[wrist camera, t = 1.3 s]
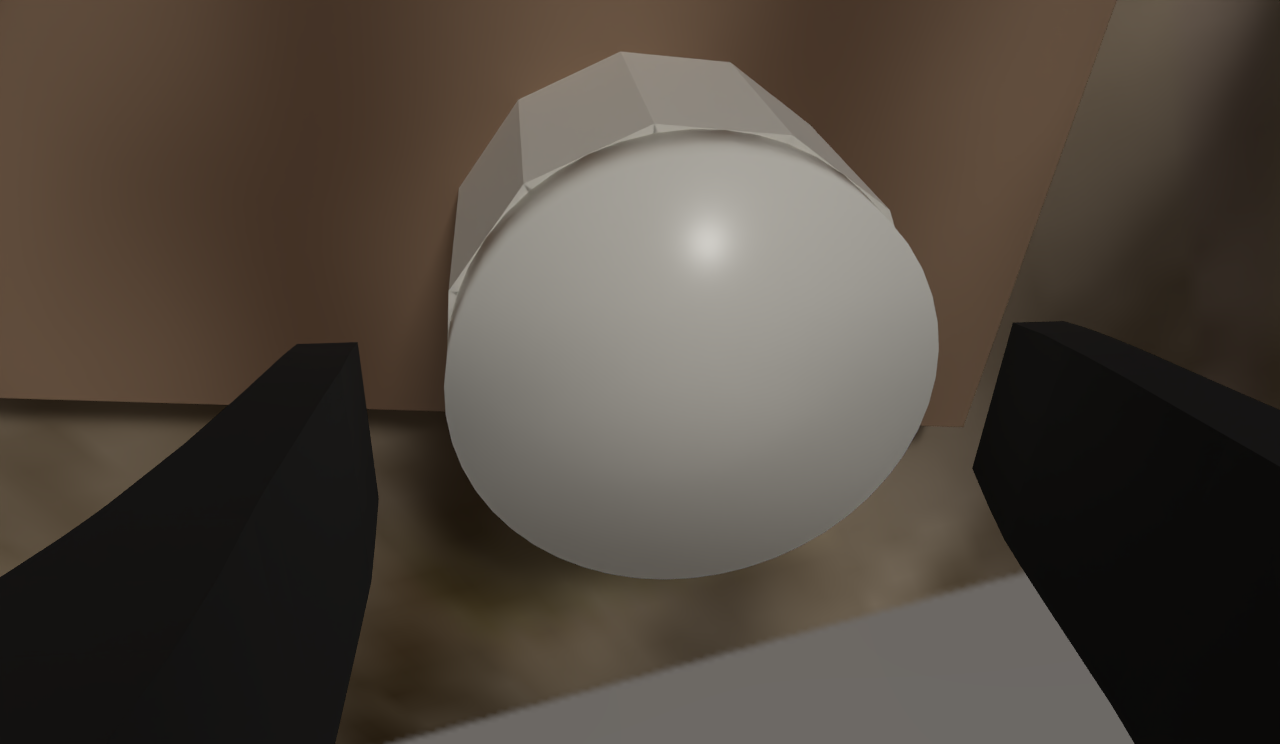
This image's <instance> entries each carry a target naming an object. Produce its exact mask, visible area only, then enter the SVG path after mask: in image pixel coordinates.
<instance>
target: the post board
mask: <svg viewBox="0 0 1280 744" xmlns="http://www.w3.org/2000/svg"><path fill="white" fill-rule="evenodd" d="M1116 1H1117V0H0V398H17V399H50V400H84V401H117V402H150V403H183V404H216V405H229V404H230V403H231V402H233V401H234V400H235V399H236V398H237V397H238V396H239V395H240V394H241V393H242V392H244V391H245V390H246V389H247V388H248V387H249V386H250V385H251V384H252V383H253V382H254V381H256V380H257V379H258V378H259V377H260V376H261V375H262V374H263V373H264V372H265V371H266V370H267V369H269V368H270V367H271V366H272V365H273V364H274V363H275V362H276V361H277V360H278V359H279V358H281V357H282V356H283V355H284V354H285V353H286V352H287V351H289V350H290V349H291V348H292V347H294V346H295V345H296V344H311V343H345V342H358V348H359V355H360V363H361V370H362V378H363V385H364V393H365V400H366V408H367V409H382V410H415V411H445V395H444V381H445V370H446V359H447V345H448V295H449V282H450V272H451V262H452V252H453V242H454V232H455V222H456V212H457V202H458V192H459V187H460V186H461V184H462V183H463V181H464V180H465V178H466V177H467V175H468V174H469V172H470V171H471V169H472V168H473V166H474V165H475V163H476V162H477V160H478V159H479V157H480V156H481V154H482V153H483V151H484V150H485V148H486V147H487V145H488V144H489V143H490V141H491V140H492V138H493V137H494V135H495V134H496V132H497V131H498V129H499V128H500V126H501V125H502V123H503V122H504V120H505V119H506V117H507V116H508V114H509V113H510V111H511V110H512V108H513V107H514V105H515V104H516V102H517V101H518V100H519V99H521V98H523V97H525V96H527V95H529V94H531V93H533V92H536V91H538V90H540V89H542V88H544V87H546V86H548V85H550V84H553V83H555V82H557V81H559V80H561V79H563V78H565V77H567V76H570V75H572V74H574V73H576V72H578V71H580V70H582V69H584V68H586V67H589V66H591V65H593V64H595V63H597V62H599V61H601V60H603V59H606V58H608V57H610V56H612V55H614V54H616V53H618V52H630V53H641V54H651V55H661V56H671V57H682V58H692V59H702V60H712V61H723V62H731V63H732V64H733V65H734V66H736V67H737V68H738V69H740V70H741V71H742V72H743V73H745V74H746V75H747V76H748V77H750V78H751V79H752V80H754V81H755V82H756V83H757V84H759V85H760V86H761V87H762V88H764V89H765V90H766V91H768V92H769V93H770V94H771V95H773V96H774V97H775V98H776V99H778V100H779V101H780V102H782V103H783V104H784V105H785V106H787V107H788V108H789V109H790V110H792V111H793V112H794V113H796V114H797V115H798V116H799V117H801V118H802V119H803V120H804V121H806V122H807V123H808V124H810V125H811V126H812V127H813V129H814V130H815V131H816V132H817V133H818V134H819V135H820V136H821V137H822V138H823V139H824V140H825V141H826V142H827V144H828V145H829V146H830V147H831V148H832V149H833V150H834V151H835V152H836V153H837V154H838V155H839V156H840V157H841V158H842V160H843V161H844V162H845V163H846V164H847V165H848V166H849V167H850V168H851V169H852V170H853V171H854V172H855V173H856V175H857V176H858V177H859V178H860V179H861V180H862V181H863V182H864V183H865V184H866V185H867V186H868V187H869V188H870V189H871V191H872V192H873V193H874V194H875V195H876V196H877V197H878V198H879V199H880V200H881V201H882V202H883V203H884V204H885V205H886V207H887V208H888V209H889V210H890V212H891V216H892V219H893V223H894V226H895V228H896V229H897V231H898V232H899V233H900V234H901V236H902V237H903V238H904V239H905V241H906V242H907V243H908V244H909V246H910V248H911V250H912V251H913V253H914V255H915V257H916V258H917V260H918V262H919V264H920V265H921V267H922V269H923V271H924V274H925V277H926V279H927V282H928V285H929V288H930V290H931V293H932V296H933V301H934V306H935V311H936V316H937V321H938V343H939V352H938V361H937V370H936V378H935V382H934V386H933V390H932V393H931V397H930V401H929V405H928V407H927V409H926V412H925V414H924V417H923V419H922V422H921V424H920V426H946V427H963V426H964V423H965V421H966V418H967V415H968V412H969V409H970V407H971V404H972V401H973V398H974V396H975V393H976V390H977V387H978V384H979V382H980V379H981V376H982V373H983V371H984V368H985V365H986V362H987V359H988V357H989V354H990V351H991V348H992V346H993V343H994V340H995V337H996V334H997V332H998V329H999V326H1000V323H1001V321H1002V318H1003V315H1004V312H1005V309H1006V307H1007V304H1008V301H1009V298H1010V296H1011V293H1012V290H1013V287H1014V284H1015V282H1016V279H1017V276H1018V273H1019V271H1020V268H1021V265H1022V262H1023V259H1024V257H1025V254H1026V251H1027V248H1028V246H1029V243H1030V240H1031V237H1032V234H1033V232H1034V229H1035V226H1036V223H1037V221H1038V218H1039V215H1040V212H1041V209H1042V207H1043V204H1044V201H1045V198H1046V195H1047V193H1048V190H1049V187H1050V184H1051V182H1052V179H1053V176H1054V173H1055V170H1056V168H1057V165H1058V162H1059V159H1060V157H1061V154H1062V151H1063V148H1064V145H1065V143H1066V140H1067V137H1068V134H1069V132H1070V129H1071V126H1072V123H1073V120H1074V118H1075V115H1076V112H1077V109H1078V107H1079V104H1080V101H1081V98H1082V95H1083V93H1084V90H1085V87H1086V84H1087V82H1088V79H1089V76H1090V73H1091V70H1092V68H1093V65H1094V62H1095V59H1096V57H1097V54H1098V51H1099V48H1100V45H1101V43H1102V40H1103V37H1104V34H1105V32H1106V29H1107V26H1108V23H1109V20H1110V18H1111V15H1112V12H1113V9H1114V6H1115V4H1116Z"/></svg>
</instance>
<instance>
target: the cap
mask: <svg viewBox="0 0 1280 744" xmlns="http://www.w3.org/2000/svg"><path fill="white" fill-rule="evenodd" d="M938 352H939V343H938V321H937V316H936V311H935V306H934V301H933V296H932V293H931V290H930V288H929V285H928V282H927V279H926V277H925V274H924V271H923V269H922V267H921V265H920V264H919V262H918V260H917V258H916V257H915V255H914V253H913V251H912V250H911V248H910V246H909V244H908V243H907V242H906V241H905V239H904V238H903V237H902V236H901V234H900V233H899V232H898V231H897V229H896V228H895V226H894V223H893V219H892V216H891V212H890V210H889V209H888V208H887V207H886V205H885V204H884V203H883V202H882V201H881V200H880V199H879V198H878V197H877V196H876V195H875V194H874V193H873V192H872V191H871V189H870V188H869V187H868V186H867V185H866V184H865V183H864V182H863V181H862V180H861V179H860V178H859V177H858V176H857V175H856V173H855V172H854V171H853V170H852V169H851V168H850V167H849V166H848V165H847V164H846V163H845V162H844V161H843V160H842V158H841V157H840V156H839V155H838V154H837V153H836V152H835V151H834V150H833V149H832V148H831V147H830V146H829V145H828V144H827V142H826V141H825V140H824V139H823V138H822V137H821V136H820V135H819V134H818V133H817V132H816V131H815V130H814V129H813V127H812V126H811V125H810V124H808V123H807V122H806V121H804V120H803V119H802V118H801V117H799V116H798V115H797V114H796V113H794V112H793V111H792V110H790V109H789V108H788V107H787V106H785V105H784V104H783V103H782V102H780V101H779V100H778V99H776V98H775V97H774V96H773V95H771V94H770V93H769V92H768V91H766V90H765V89H764V88H762V87H761V86H760V85H759V84H757V83H756V82H755V81H754V80H752V79H751V78H750V77H748V76H747V75H746V74H745V73H743V72H742V71H741V70H740V69H738V68H737V67H736V66H734V65H733V64H732V63H731V62H723V61H712V60H702V59H692V58H682V57H671V56H661V55H651V54H641V53H630V52H618V53H616V54H614V55H612V56H610V57H608V58H606V59H603V60H601V61H599V62H597V63H595V64H593V65H591V66H589V67H586V68H584V69H582V70H580V71H578V72H576V73H574V74H572V75H570V76H567V77H565V78H563V79H561V80H559V81H557V82H555V83H553V84H550V85H548V86H546V87H544V88H542V89H540V90H538V91H536V92H533V93H531V94H529V95H527V96H525V97H523V98H521V99H519V100H518V101H517V102H516V104H515V105H514V107H513V108H512V110H511V111H510V113H509V114H508V116H507V117H506V119H505V120H504V122H503V123H502V125H501V126H500V128H499V129H498V131H497V132H496V134H495V135H494V137H493V138H492V140H491V141H490V143H489V144H488V145H487V147H486V148H485V150H484V151H483V153H482V154H481V156H480V157H479V159H478V160H477V162H476V163H475V165H474V166H473V168H472V169H471V171H470V172H469V174H468V175H467V177H466V178H465V180H464V181H463V183H462V184H461V186H460V187H459V192H458V202H457V212H456V222H455V232H454V242H453V252H452V262H451V272H450V282H449V295H448V345H447V359H446V370H445V381H444V395H445V412H446V419H447V423H448V428H449V432H450V437H451V441H452V444H453V446H454V449H455V451H456V454H457V457H458V459H459V462H460V464H461V467H462V468H463V470H464V472H465V474H466V475H467V477H468V479H469V480H470V482H471V484H472V485H473V487H474V489H475V490H476V492H477V493H478V494H479V495H480V497H481V498H482V499H483V500H484V502H485V503H486V504H487V505H488V507H489V508H490V509H491V510H492V511H493V512H494V513H495V514H496V515H497V516H498V517H499V518H500V519H501V520H502V521H503V522H505V523H506V524H507V525H508V526H509V527H510V528H511V529H512V530H514V531H515V532H516V533H518V534H519V535H521V536H522V537H524V538H525V539H526V540H528V541H529V542H531V543H532V544H534V545H535V546H537V547H539V548H541V549H543V550H545V551H547V552H548V553H550V554H552V555H554V556H556V557H558V558H561V559H563V560H566V561H568V562H571V563H574V564H576V565H579V566H581V567H585V568H588V569H592V570H596V571H600V572H603V573H607V574H613V575H619V576H626V577H632V578H644V579H685V578H696V577H703V576H710V575H717V574H722V573H726V572H731V571H735V570H739V569H743V568H747V567H750V566H753V565H756V564H759V563H762V562H764V561H767V560H770V559H773V558H776V557H778V556H780V555H782V554H784V553H787V552H789V551H791V550H793V549H795V548H798V547H800V546H802V545H803V544H805V543H807V542H809V541H810V540H812V539H814V538H815V537H817V536H819V535H821V534H822V533H824V532H826V531H827V530H829V529H830V528H831V527H833V526H834V525H836V524H837V523H838V522H840V521H841V520H842V519H844V518H845V517H847V516H848V515H849V514H850V513H852V512H853V511H854V510H855V509H856V508H857V507H858V506H859V505H861V504H862V503H863V502H864V501H865V500H866V499H867V498H868V497H870V496H871V494H872V493H873V492H874V491H875V490H876V489H877V488H878V487H879V486H880V485H881V483H882V482H883V481H884V480H885V479H886V478H887V477H888V476H889V474H890V473H891V472H892V470H893V469H894V468H895V466H896V465H897V463H898V462H899V461H900V459H901V458H902V457H903V455H904V454H905V452H906V451H907V449H908V447H909V445H910V443H911V442H912V440H913V438H914V436H915V434H916V433H917V431H918V429H919V427H920V424H921V422H922V419H923V417H924V414H925V412H926V409H927V407H928V405H929V401H930V397H931V393H932V390H933V386H934V382H935V378H936V370H937V361H938Z"/></svg>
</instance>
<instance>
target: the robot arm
mask: <svg viewBox="0 0 1280 744" xmlns="http://www.w3.org/2000/svg"><path fill="white" fill-rule="evenodd" d="M972 469H973V471H974V473H975V476H976V478H977V480H978V483H979V485H980V487H981V490H982V492H983V494H984V497H985V499H986V501H987V504H988V506H989V508H990V510H991V513H992V515H993V517H994V519H995V521H996V523H997V525H998V527H999V529H1000V531H1001V533H1002V535H1003V537H1004V540H1005V541H1006V543H1007V545H1008V546H1009V548H1010V550H1011V551H1012V553H1013V554H1014V556H1015V558H1016V559H1017V561H1018V562H1019V564H1020V566H1021V567H1022V569H1023V570H1024V572H1025V573H1026V575H1027V576H1028V578H1029V579H1030V581H1031V583H1032V584H1033V586H1034V587H1035V589H1036V590H1037V592H1038V593H1039V595H1040V597H1041V598H1042V600H1043V601H1044V603H1045V604H1046V606H1047V607H1048V609H1049V610H1050V612H1051V613H1052V615H1053V617H1054V618H1055V620H1056V621H1057V622H1058V624H1059V626H1060V627H1061V629H1062V630H1063V632H1064V633H1065V635H1066V636H1067V638H1068V639H1069V641H1070V642H1071V644H1072V645H1073V647H1074V648H1075V650H1076V652H1077V653H1078V654H1079V656H1080V658H1081V659H1082V661H1083V662H1084V664H1085V665H1086V667H1087V668H1088V670H1089V671H1090V673H1091V674H1092V676H1093V677H1094V679H1095V680H1096V682H1097V683H1098V685H1099V687H1100V688H1101V690H1102V691H1103V693H1104V694H1105V696H1106V697H1107V699H1108V700H1109V702H1110V703H1111V705H1112V706H1113V708H1114V710H1115V711H1116V713H1117V715H1118V717H1119V718H1120V720H1121V721H1122V723H1123V725H1124V727H1125V728H1126V730H1127V732H1128V733H1129V735H1130V737H1131V738H1132V740H1133V742H1134V743H1135V744H1280V410H1278V409H1276V408H1274V407H1271V406H1269V405H1267V404H1264V403H1262V402H1260V401H1257V400H1255V399H1253V398H1250V397H1248V396H1246V395H1243V394H1241V393H1239V392H1237V391H1234V390H1232V389H1230V388H1228V387H1225V386H1223V385H1221V384H1218V383H1216V382H1214V381H1212V380H1209V379H1207V378H1205V377H1203V376H1200V375H1198V374H1196V373H1194V372H1191V371H1189V370H1187V369H1184V368H1182V367H1180V366H1178V365H1175V364H1173V363H1171V362H1168V361H1166V360H1164V359H1162V358H1159V357H1157V356H1155V355H1152V354H1150V353H1148V352H1146V351H1143V350H1141V349H1138V348H1136V347H1134V346H1131V345H1129V344H1126V343H1124V342H1121V341H1119V340H1117V339H1114V338H1112V337H1109V336H1106V335H1104V334H1101V333H1099V332H1096V331H1093V330H1090V329H1087V328H1084V327H1081V326H1078V325H1074V324H1071V323H1068V322H1064V321H1056V322H1022V323H1013V324H1012V328H1011V332H1010V335H1009V339H1008V342H1007V346H1006V350H1005V353H1004V357H1003V360H1002V364H1001V368H1000V371H999V375H998V378H997V382H996V385H995V389H994V393H993V396H992V400H991V403H990V407H989V411H988V414H987V418H986V421H985V425H984V429H983V432H982V436H981V439H980V443H979V447H978V450H977V454H976V457H975V461H974V464H973V468H972ZM378 500H379V498H378V491H377V483H376V476H375V468H374V461H373V453H372V446H371V438H370V430H369V423H368V415H367V408H366V400H365V393H364V385H363V378H362V370H361V363H360V355H359V348H358V342H345V343H311V344H296V345H295V346H294V347H292V348H291V349H290V350H289V351H287V352H286V353H285V354H284V355H283V356H282V357H281V358H279V359H278V360H277V361H276V362H275V363H274V364H273V365H272V366H271V367H270V368H269V369H267V370H266V371H265V372H264V373H263V374H262V375H261V376H260V377H259V378H258V379H257V380H256V381H254V382H253V383H252V384H251V385H250V386H249V387H248V388H247V389H246V390H245V391H244V392H242V393H241V394H240V395H239V396H238V397H237V398H236V399H235V400H234V401H233V402H231V403H230V404H229V405H228V406H227V407H226V408H225V409H223V410H222V411H221V412H220V413H219V414H218V415H217V416H216V417H214V418H213V419H212V420H211V421H210V422H209V423H208V424H206V425H205V426H204V427H203V428H202V429H201V430H200V431H199V432H197V433H196V434H195V435H194V436H193V437H192V438H191V439H189V440H188V441H187V442H186V443H185V444H184V445H182V446H181V447H180V448H179V449H177V450H176V451H175V452H174V453H172V454H171V455H170V456H169V457H167V458H166V459H165V460H163V461H162V462H161V463H160V464H158V465H157V466H156V467H155V468H153V469H152V470H151V471H150V472H148V473H147V474H146V475H144V476H143V477H142V478H141V479H139V480H138V481H137V482H136V483H134V484H133V485H132V486H131V487H129V488H128V489H127V490H125V491H124V492H123V493H122V494H120V495H119V496H118V497H117V498H115V499H114V500H113V501H112V502H110V503H109V504H108V505H106V506H105V507H104V508H102V509H101V510H100V511H98V512H97V513H95V514H94V515H93V516H91V517H90V518H89V519H87V520H86V521H84V522H83V523H81V524H80V525H79V526H77V527H76V528H74V529H73V530H71V531H70V532H68V533H67V534H66V535H64V536H63V537H61V538H60V539H58V540H57V541H55V542H54V543H52V544H51V545H49V546H48V547H46V548H45V549H43V550H42V551H40V552H38V553H37V554H35V555H34V556H32V557H31V558H29V559H28V560H26V561H25V562H23V563H21V564H20V565H18V566H17V567H15V568H14V569H12V570H11V571H9V572H8V573H6V574H5V575H3V576H1V577H0V744H335V741H336V737H337V733H338V728H339V724H340V719H341V715H342V710H343V706H344V702H345V697H346V693H347V688H348V684H349V680H350V675H351V671H352V666H353V662H354V657H355V653H356V649H357V644H358V640H359V635H360V631H361V626H362V621H363V617H364V612H365V608H366V603H367V599H368V594H369V589H370V585H371V579H372V569H373V558H374V548H375V537H376V524H377V512H378Z"/></svg>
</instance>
